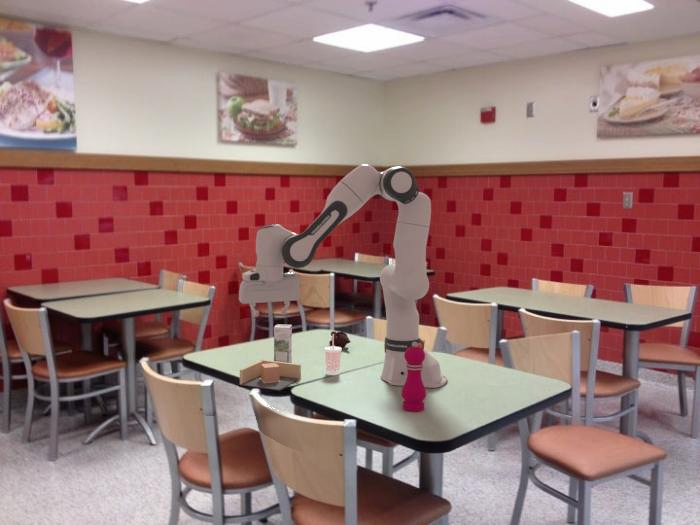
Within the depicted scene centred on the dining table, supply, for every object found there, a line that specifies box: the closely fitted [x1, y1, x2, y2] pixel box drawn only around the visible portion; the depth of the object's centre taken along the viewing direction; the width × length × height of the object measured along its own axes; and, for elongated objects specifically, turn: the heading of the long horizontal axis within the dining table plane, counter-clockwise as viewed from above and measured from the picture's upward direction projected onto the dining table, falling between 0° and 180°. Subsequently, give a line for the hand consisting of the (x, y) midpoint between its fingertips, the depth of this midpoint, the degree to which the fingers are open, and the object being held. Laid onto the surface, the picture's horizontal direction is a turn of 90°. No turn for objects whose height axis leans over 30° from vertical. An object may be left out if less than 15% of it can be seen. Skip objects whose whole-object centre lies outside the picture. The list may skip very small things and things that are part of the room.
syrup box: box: [273, 323, 293, 363], centre depth 236 cm, size 6×6×14 cm
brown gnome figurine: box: [329, 331, 352, 349], centre depth 263 cm, size 7×7×15 cm
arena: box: [239, 359, 302, 392], centre depth 213 cm, size 15×15×5 cm
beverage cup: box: [323, 334, 343, 376], centre depth 224 cm, size 6×6×14 cm
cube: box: [261, 363, 280, 383], centre depth 213 cm, size 5×5×5 cm
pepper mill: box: [401, 342, 427, 413], centre depth 187 cm, size 7×7×20 cm
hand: (270, 315), depth 211 cm, fingers open, 8 cm apart
